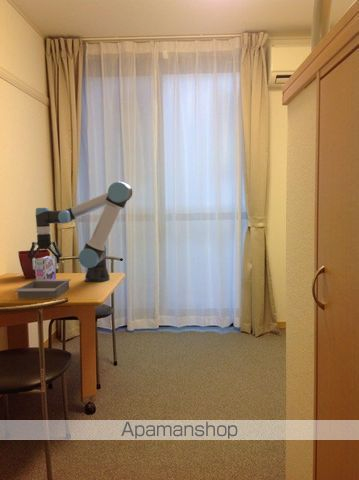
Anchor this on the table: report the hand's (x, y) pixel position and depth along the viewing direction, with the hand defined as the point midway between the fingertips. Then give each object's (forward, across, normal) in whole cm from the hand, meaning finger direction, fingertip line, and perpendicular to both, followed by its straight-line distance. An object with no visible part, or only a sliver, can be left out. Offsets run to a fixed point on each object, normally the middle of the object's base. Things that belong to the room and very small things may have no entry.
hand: (45, 268), depth 224 cm
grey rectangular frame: (+10, -8, +23) cm, 26 cm away
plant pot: (+10, +17, -25) cm, 32 cm away
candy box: (+10, 0, 0) cm, 10 cm away
